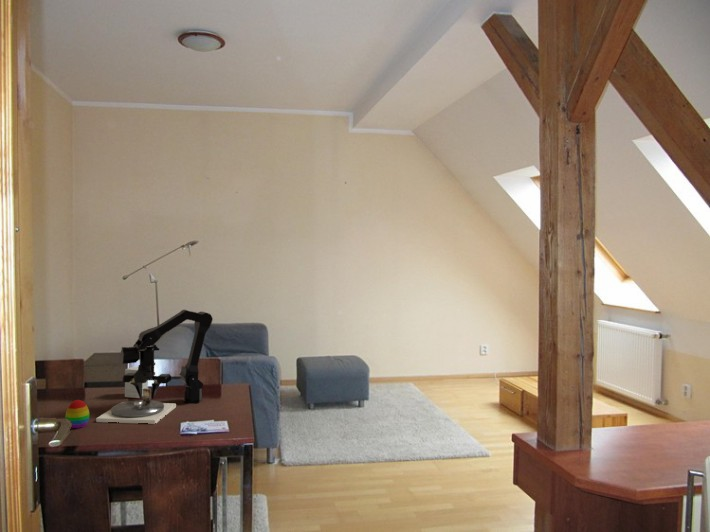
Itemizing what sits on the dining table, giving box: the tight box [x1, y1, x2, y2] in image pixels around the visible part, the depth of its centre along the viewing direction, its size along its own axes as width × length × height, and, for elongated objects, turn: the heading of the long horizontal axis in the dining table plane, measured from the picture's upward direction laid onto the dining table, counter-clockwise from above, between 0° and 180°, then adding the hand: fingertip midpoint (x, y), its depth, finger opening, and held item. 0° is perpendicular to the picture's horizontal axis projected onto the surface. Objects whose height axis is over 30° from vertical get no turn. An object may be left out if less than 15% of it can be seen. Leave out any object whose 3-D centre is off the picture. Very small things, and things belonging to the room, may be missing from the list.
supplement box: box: [124, 365, 149, 399], centre depth 263 cm, size 7×7×13 cm
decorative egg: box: [64, 399, 90, 429], centre depth 219 cm, size 8×8×10 cm
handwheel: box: [110, 387, 164, 417], centre depth 236 cm, size 20×20×6 cm
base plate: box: [95, 401, 177, 425], centre depth 236 cm, size 23×23×2 cm
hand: (146, 398), depth 244 cm, fingers open, 5 cm apart
